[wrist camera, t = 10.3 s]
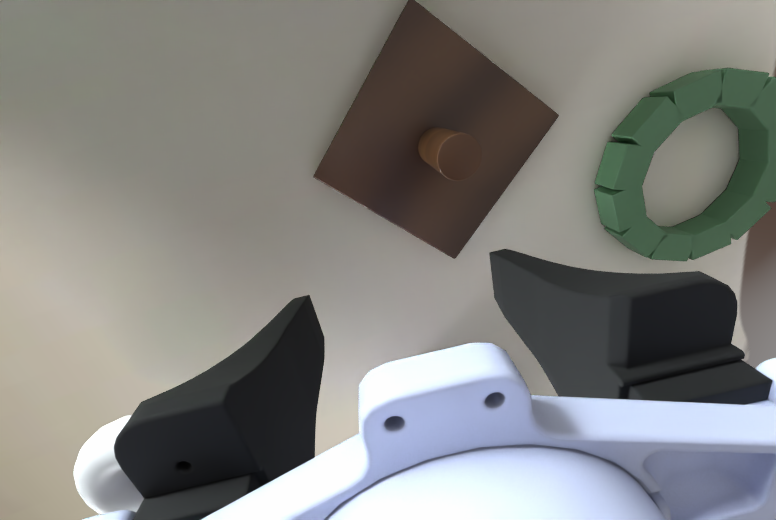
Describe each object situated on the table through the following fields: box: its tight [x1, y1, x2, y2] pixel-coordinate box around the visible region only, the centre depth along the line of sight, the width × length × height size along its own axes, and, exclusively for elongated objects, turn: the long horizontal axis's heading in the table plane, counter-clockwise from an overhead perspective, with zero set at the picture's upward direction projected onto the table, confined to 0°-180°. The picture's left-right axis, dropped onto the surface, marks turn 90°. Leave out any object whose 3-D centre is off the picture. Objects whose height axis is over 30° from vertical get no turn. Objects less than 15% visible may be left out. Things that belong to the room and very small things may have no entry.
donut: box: [74, 415, 144, 515], centre depth 27 cm, size 10×4×10 cm
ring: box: [594, 68, 776, 261], centre depth 22 cm, size 11×11×2 cm
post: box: [313, 0, 559, 259], centre depth 18 cm, size 10×10×6 cm
